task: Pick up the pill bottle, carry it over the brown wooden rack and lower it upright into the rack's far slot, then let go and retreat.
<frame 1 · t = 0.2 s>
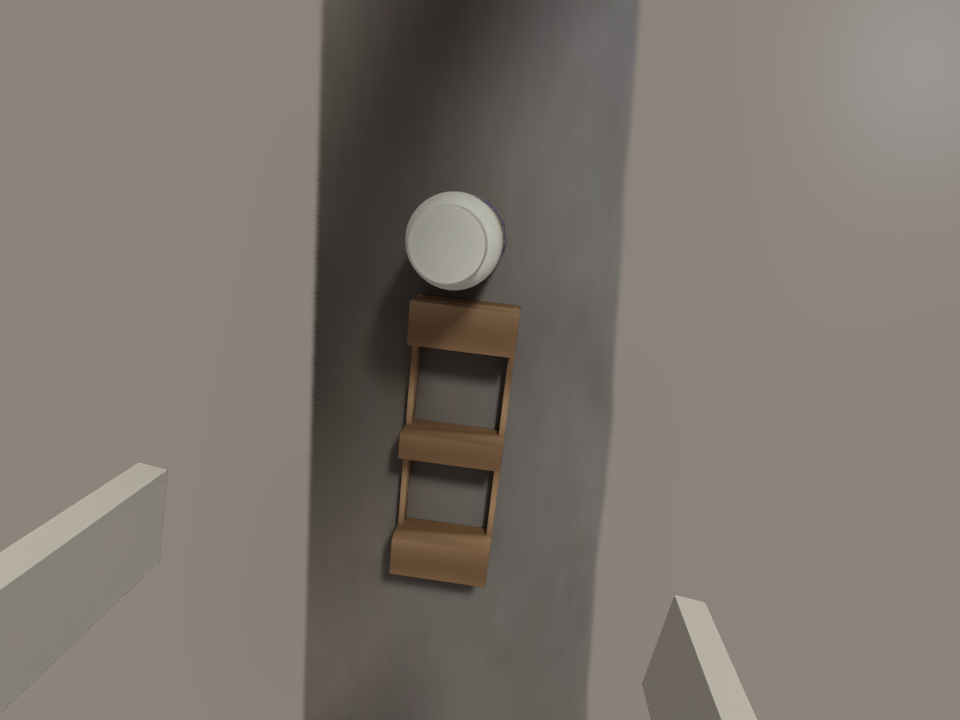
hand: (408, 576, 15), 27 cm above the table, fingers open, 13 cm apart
brown wooden rack: (455, 436, 42), on the table
pill bottle: (467, 235, 39), on the table
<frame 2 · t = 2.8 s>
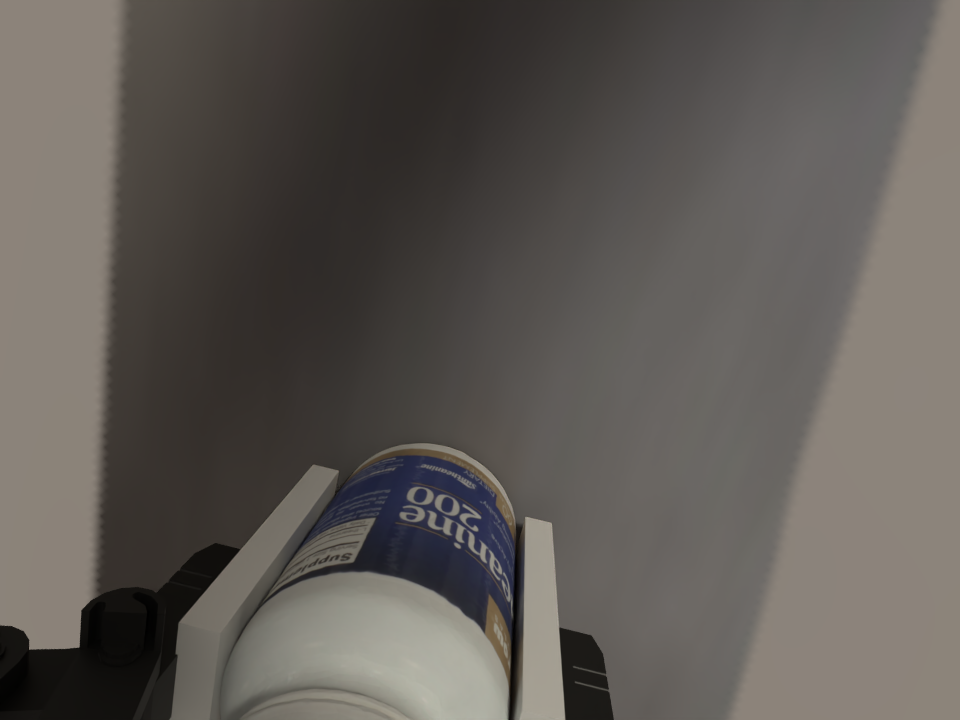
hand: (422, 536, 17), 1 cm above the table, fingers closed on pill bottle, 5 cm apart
pill bottle: (428, 517, 18), on the table, touching gripper
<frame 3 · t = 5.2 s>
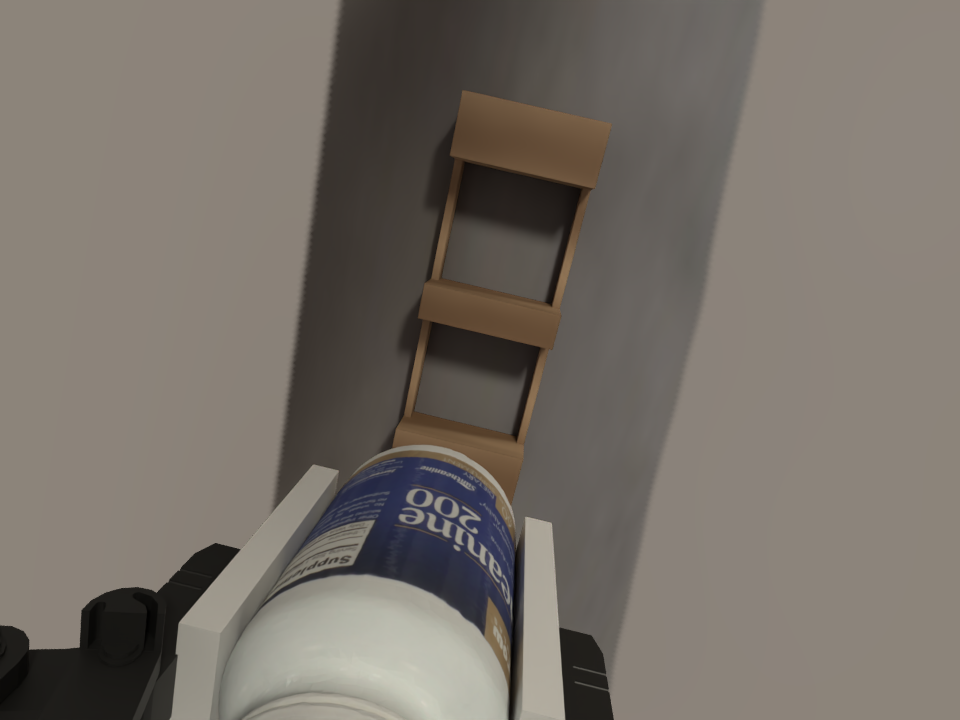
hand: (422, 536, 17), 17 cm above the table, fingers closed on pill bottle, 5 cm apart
brown wooden rack: (492, 306, 32), on the table
pill bottle: (427, 519, 18), point 16 cm above the table, touching gripper
when the fingers open (2 cm above the table, at t = 7.6 s): pill bottle drops 1 cm, resting in brown wooden rack.
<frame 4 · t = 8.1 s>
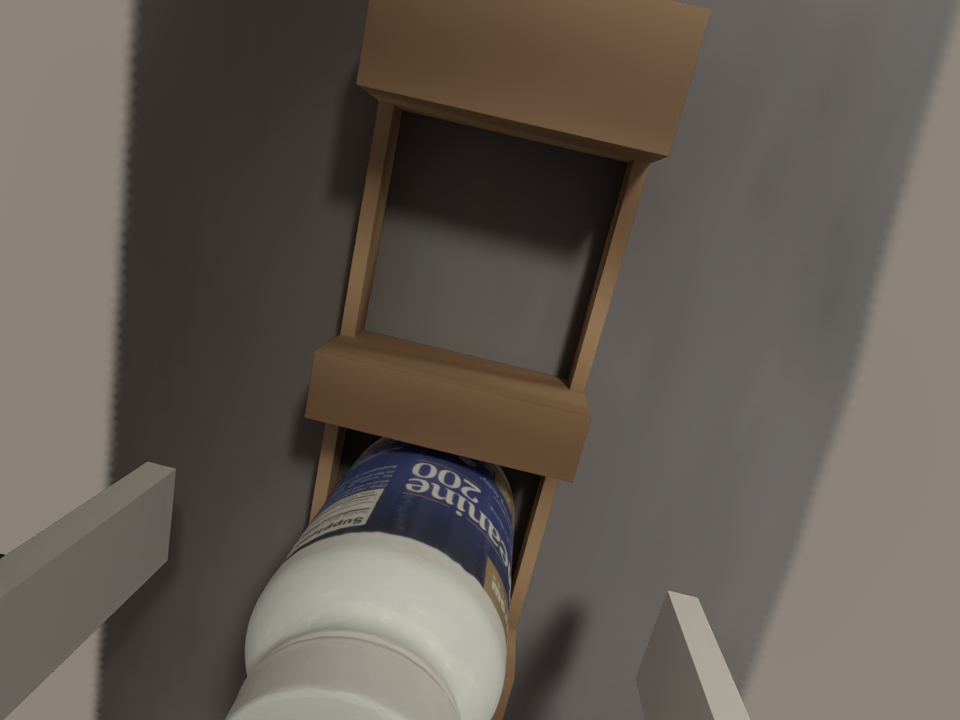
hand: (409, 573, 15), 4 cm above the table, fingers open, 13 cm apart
brown wooden rack: (458, 383, 17), on the table
pill bottle: (431, 497, 19), resting in brown wooden rack
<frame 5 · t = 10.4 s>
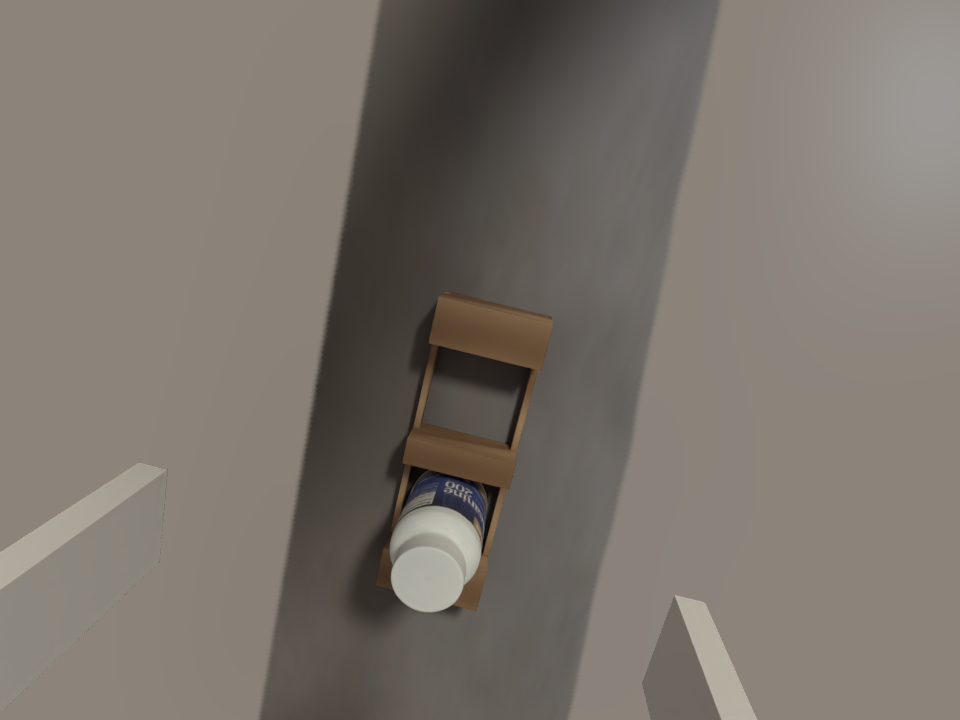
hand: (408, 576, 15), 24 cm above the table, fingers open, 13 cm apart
brown wooden rack: (463, 446, 40), on the table
pill bottle: (450, 497, 41), resting in brown wooden rack
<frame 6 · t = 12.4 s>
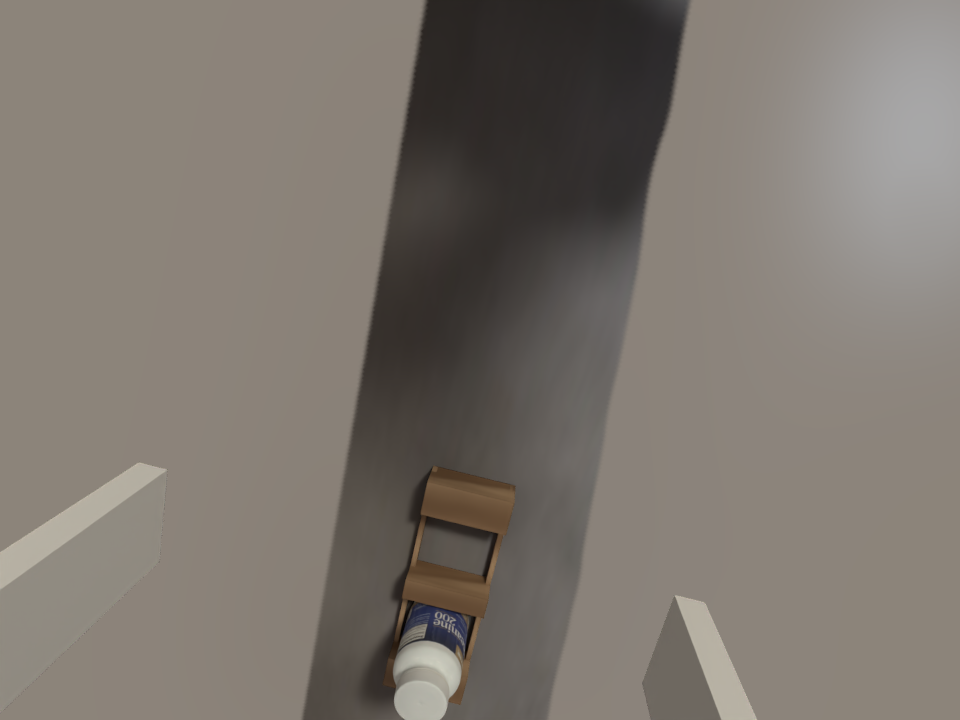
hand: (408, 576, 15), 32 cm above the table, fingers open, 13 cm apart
brown wooden rack: (449, 577, 51), on the table
pill bottle: (440, 613, 52), resting in brown wooden rack
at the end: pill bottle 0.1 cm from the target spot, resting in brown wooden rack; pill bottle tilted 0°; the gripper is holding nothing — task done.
